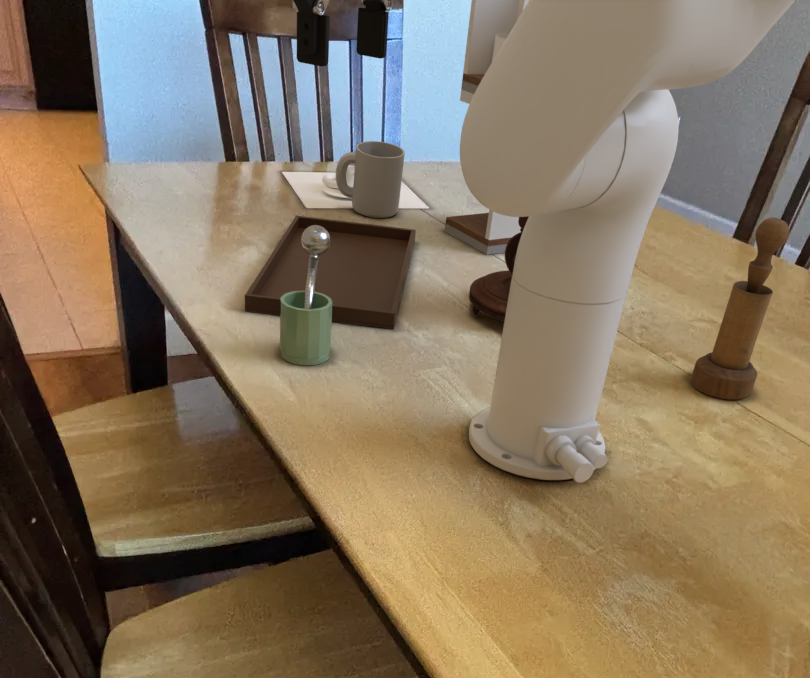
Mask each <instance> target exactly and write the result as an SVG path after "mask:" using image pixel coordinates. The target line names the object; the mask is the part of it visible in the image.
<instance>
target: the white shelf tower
mask: <svg viewBox="0 0 810 678" xmlns="http://www.w3.org/2000/svg"><path fill="white" fill-rule="evenodd" d="M528 2H529V0H471V4H470V11H469V21H468V30H467V38H466V46H465V52H464V53H465V55H464V61H463V62H464V63H463V71H462V73H463V74H462V80H461V89H460V98H459V101H461V102H463V103H465V104H468V105H469V104H470V102H471V100H472V98H473V95H474V93H475V91H476V89H477V88H478V86H479V84H480V82H481V80H482V78H483V77H484V75H485V73H486V72H487V70H488V68H489V67H490V65H491V63H492V62H493V60H494V58H495V57H496V55H497V53H498V52H499V50H500V48H501V47H502V45H503V43H504V42H505V40H506V38H507V37H508V35H509V33H510V32H511V30H512V28H513V27H514V25H515V23H516V22H517V20H518V18H519V17H520V15H521V13H522V12H523V10H524V8H525V7H526V5H527V3H528ZM518 220H519V217H511V216H506V215H502V214H498V213H496V212H494V211H492V210H490V209H488V212H483V213H481V212H480V213H473V214H472V213H471V214H462V215H453V216H452V215H451V216H446V217H445V223H444V232H446V234H449V235H450V236H453V237H455V238H456V239H458V240H459V241H461V242H463V243H465V244H467V245H469V246H470V247H472V248H473V249H475V250H478V251H479V252H481V253H483V254H485V255H493V254H495V255H496V254H503V253H505V249H506V246H507V244H508V242H509V240H510V239H511V238H512V237H513V236H514V235H516V234H518V233H520V232H521V231H520V229H521V227H520V226H519V223H518Z"/></svg>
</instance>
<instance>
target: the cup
mask: <svg viewBox="0 0 810 678" xmlns="http://www.w3.org/2000/svg"><path fill="white" fill-rule="evenodd" d="M405 153H406V151H405V150H404V148H402V147H401V146H399V145H396V144H393V143H390V142H386V141H378V140H366V141H362V142H359V143H357V144H356V146H355V152H354V151H350V152H346V153H344V154H343V155H342V156H340V158H339V160H338V161H337V164H336V168H335V173H336V183H337V186H338V189H339V190H340V192H341V193H342V194H343V195H345V196H346V197H349V198H352V206H353V208H352V209H353V210H354V211H355V212H356V213H358V214H359V215H362V216H365V217H368V218H373V219H374V218H375V219H386V218H391V217H393V216H395V215H396V214H397V212H398V211H399V208H398V207H399V199H400V190H401V181H402V180H403V173H404V165H405V164H404V163H405ZM352 164H354V166H355V170H354V183H353V188H352V187H349V186H348V184H347V181H346V172H347V168H348V166H349V165H352ZM402 182H403V181H402Z"/></svg>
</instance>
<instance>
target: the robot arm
mask: <svg viewBox="0 0 810 678" xmlns="http://www.w3.org/2000/svg"><path fill="white" fill-rule="evenodd" d="M360 1H361V3H362V6H363V7H358V8H357V9H358V10H357V26H356V27H357V28H356V29H357V30H356V48H355V49H356V51H355V52H356V53H357V55H359V56H364V57H369V58H376V59H385V58H386V57H387V49H388V48H387V46H388V32H389V14H390V12H391V10H392V9H393V3H394V2H393V1H394V0H360ZM795 1H796V0H529V2H528V3H527V5H526V7H525V8H524V10H523V12H522V13H521V15H520V17H519V18H518V20H517V22H516V23H515V25H514V27H513V28H512V30H511V32H510V33H509V35H508V37H507V38H506V40H505V42H504V43H503V45H502V47H501V48H500V50H499V52H498V53H497V55H496V57H495V58H494V60H493V62H492V63H491V65H490V67H489V68H488V70H487V72H486V73H485V75H484V77H483V78H482V80H481V82H480V84H479V86H478V88H477V89H476V91H475V93H474V95H473V98H472V100H471V102H470V104H468V107H467V110H466V113H465V116H464V119H463V122H462V126H461V132H460V140H459V163H460V168H461V171H462V175H463V179H464V182H465V184H466V186H467V188H468V190H469V191H470V193H471V195H473V197H474V198H475V199H476V200H477V201H478V202H479V203H480V204H481V205H482V206H483V207H484V208H486V209H488V210H489V209H490V210H492V211H494V212H496V213H498V214H502V215H506V216H511V217H528V216H529V218H528V220H527V222H526V225H525V227H524V230H523V232H522V235H521V238H520V242H519V245H518V249H517V253H516V258H515V263H514V269H513V275H512V280H511V285H510V291H509V297H508V303H507V309H506V315H505V321H504V322H503V326H502V327H503V328H502V334H501V339H500V346H499V350H498V351H499V352H498V359H497V363H496V364H497V365H496V369H495V375H494V382H493V386H492V387H493V389H492V394H491V400H490V406H488V407H486V408H484V409H481V410H480V411H479V412H478V413H476V414H475V415H474V416H473V418H472V419H471V421H470V424H469V428H468V440H469V443H470V446H471V447H472V448H473V450H474V452H476V454H478V456H480V457H481V458H482V460H483V461H484V460H485V461H486V462H488V463H489V464H491V466H494V467H496V468H498V469H501V470H502V471H504V472H508V473H510V474H513V475H516V476H520V477H524V478H529V479H535V480H542V481H565V480H572V479H573V480H574V482H576V483H580V484H581V483H585V482H586V481H588V480H589V479H590V478H591V477H592V475H593V474H594V472H595V470H597V469H602V468H604V467H605V466H606V465H607V463H608V462H609V457H608V455H606V453H605V452H606V442H605V439H604V437H603V436H602V434H601V432H600V427H601V424H600V423H599V422H598V421H597V420H596V418H597V413H598V410H599V406H600V402H601V398H602V394H603V391H604V386H605V382H606V378H607V375H608V372H609V371H608V370H609V366H610V364H611V363H610V362H611V358H612V356H613V355H612V354H613V351H614V346H615V342H616V339H617V334H618V331H619V327H620V322H621V320H622V315H623V310H624V307H625V303H626V299H627V296H628V292H629V288H630V285H631V281H632V277H633V273H634V269H635V266H636V261H637V259H638V254H639V251H640V247H641V246H642V245H641V244H642V242H643V238H644V235H645V231H646V229H647V226H648V223H649V221H650V218H651V216H652V214H653V211H654V209H655V207H656V204H657V202H658V200H659V198H660V195H661V193H662V190H663V188H664V186H665V183H666V181H667V179H668V177H669V174H670V172H671V169H672V165H673V162H674V159H675V156H676V151H677V147H678V142H679V141H678V140H679V131H680V129H679V127H680V125H679V115H678V109H677V106H676V102H675V100H674V98H673V95H672V93H671V92H670V90H680V89H688V88H689V89H690V88H695V87H699V86H703V85H708V84H710V83H714V82H716V81H719V80H720V79H722V78H724V77H726V76H727V75H729V74H730V73H731V72H732V71H734V70H735V69H736V68H737V67H738V66H739V65H741V64H742V63H743V61H744V60H746V58H748V56H749V55H750V54H751V53H752V52H753V51H754V49H755V48H757V46H758V45H759V44H760V42H761V41H762V40H763V39H764V37H765V36H767V34H768V33H769V32H770V31H771V29H772V28H773V27H774V26H775V25H776V23H777V22H779V20H780V19H781V18H782V17H783V15H784V14H785V13H786V12H787V11H788V10H789V8H790V7H791V6H792V5H793V4H794V3H795ZM330 2H331V0H292V2H291V3H292V9H293V11H294V12H296V60H297V62H298V63H302V64H307V65H312V66H317V67H327V66H328V65H329V58H330V57H329V56H330V53H329V52H330V15H327V14H325V12H326V10H327V8H328V6H329V3H330Z"/></svg>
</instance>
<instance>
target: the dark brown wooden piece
mask: <svg viewBox="0 0 810 678" xmlns="http://www.w3.org/2000/svg"><path fill="white" fill-rule="evenodd" d="M528 218H529V216H528V217H519V220H518V223H519V226H520V227H521V229H520V231H521V232H520V233H518V234H516V235H514V236H513V237H512V238H511V239H510V240H509V242H508V244H507V246H506V249H505V252H504V262H505V265H506V267H507V269H508V270H499V271H494V272H491V273H488V274H486V275H484V276H483V275H482V276H481V277H479V278H477V279H475V280H474V281H472V283H471V284H470V286H469V293H468V299H469V302H470V304H471V311H472V314H473V316H475V317H478V316H479V314H480V313H482V314H484V315H486V316H488V317H489V318H492V319H494V320H497V321H500V322H503V323H504V321H505V315H506V309H507V303H508V297H509V291H510V285H511V280H512V275H513V269H514V263H515V258H516V253H517V249H518V245H519V242H520V238H521V235H522V232H523V230H524V227H525V225H526V222H527V220H528Z"/></svg>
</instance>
